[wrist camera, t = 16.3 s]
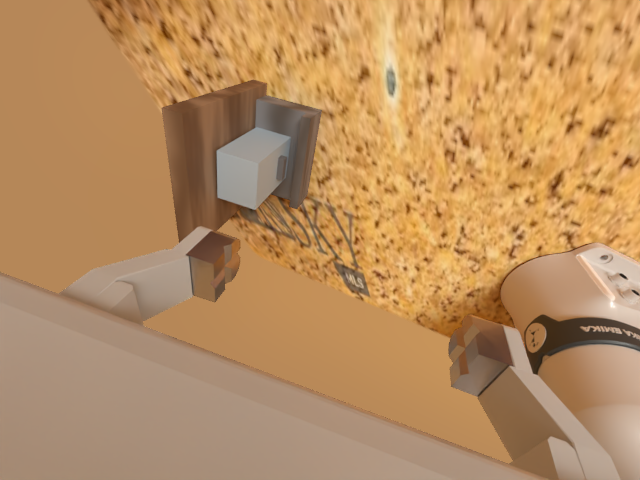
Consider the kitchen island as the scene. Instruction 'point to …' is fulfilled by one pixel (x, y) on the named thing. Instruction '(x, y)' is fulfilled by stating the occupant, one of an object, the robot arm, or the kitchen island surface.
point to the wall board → (219, 130)
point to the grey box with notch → (252, 167)
